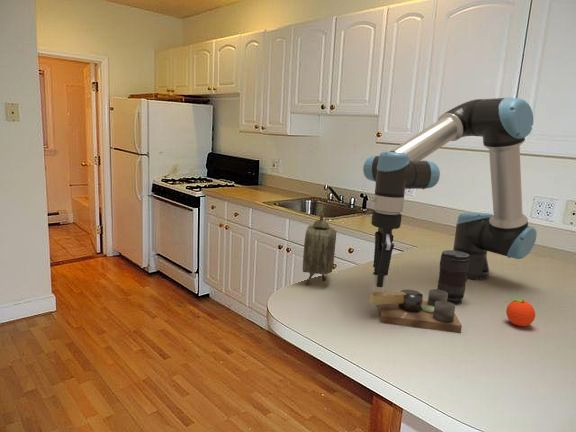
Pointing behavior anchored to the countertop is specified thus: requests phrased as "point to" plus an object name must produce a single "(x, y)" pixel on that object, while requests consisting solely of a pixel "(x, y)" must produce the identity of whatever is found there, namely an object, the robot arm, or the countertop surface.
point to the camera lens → (453, 274)
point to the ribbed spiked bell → (319, 248)
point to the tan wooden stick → (399, 299)
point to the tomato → (520, 312)
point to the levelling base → (424, 314)
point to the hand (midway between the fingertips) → (377, 296)
